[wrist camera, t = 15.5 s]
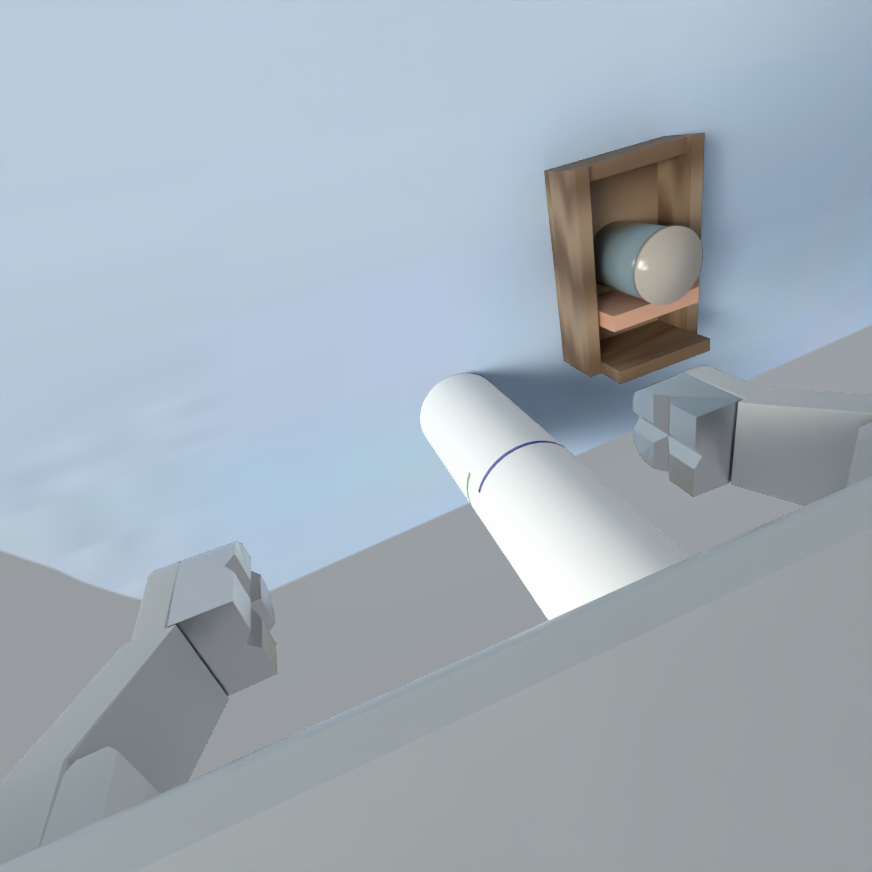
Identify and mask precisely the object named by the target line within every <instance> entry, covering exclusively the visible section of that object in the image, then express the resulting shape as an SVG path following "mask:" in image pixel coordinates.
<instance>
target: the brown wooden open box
mask: <svg viewBox="0 0 872 872" xmlns="http://www.w3.org/2000/svg"><path fill="white" fill-rule="evenodd" d="M704 138H705V133H696V134H685V135H674V136H663V137H660V138H656V139H653V140H649V141H646V142H643V143H639V144H636V145H632V146H629V147H625V148H622V149H618V150H615V151H611V152H608V153H605V154H601V155H598V156H594V157H591V158H587V159H584V160H580V161H577V162H573V163H570V164H567V165H563V166H560V167H556V168H553V169H549V170H546V171H544V173H545V183H546V192H547V202H548V212H549V221H550V231H551V241H552V250H553V260H554V269H555V279H556V289H557V298H558V308H559V318H560V327H561V337H562V347H563V356H564V361H565V362H566V363H568V364H570V365H571V366H573V367H575V368H576V369H578V370H580V371H581V372H583V373H585V374H586V375H588V376H590V377H592V376H595V375H597V374H600V373H603V374H604V375H606V376H608V377H610V378H611V379H613V380H615V381H617V382H618V383H620V384H622V383H624V382H627V381H630V380H632V379H635V378H638V377H640V376H643V375H646V374H648V373H651V372H654V371H656V370H659V369H662V368H664V367H667V366H670V365H672V364H675V363H678V362H680V361H683V360H686V359H688V358H691V357H694V356H696V355H699V354H702V353H704V352H707V351H709V350H710V339H709V338H707V337H704V336H701V335H698V334H697V318H698V303H695V304H692V305H689V306H686V307H684V308H681V309H678V310H675V311H672V312H670V313H667V314H664V315H661V316H658V317H655V318H653V319H650V320H647V321H644V322H641V323H639V324H636V325H633V326H630V327H627V328H624V329H622V330H619V331H616V332H612V331H610V330H608V329H606V328H603V327H601V326H599V324H598V308H597V296H599V295H602V294H605V293H607V292H610V291H613V289H610V288H607V287H604V286H601V285H599V284H597V283H596V276H595V261H594V245H593V238H594V236H595V235H596V234H597V232H598V231H599V230H600V229H601V228H603V227H604V226H605V225H607V224H609V223H611V222H614V221H629V222H637V223H645V224H654V225H662V226H673V225H676V226H684V227H687V228H689V229H691V230H693V231H694V232H695V233H696V234H697V236H698V237H699V239H700V241H701V215H702V189H703V163H704ZM693 285H694V286H698V287H699V275H698V277H697V279H696V281H695V283H694V284H693Z"/></svg>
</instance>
